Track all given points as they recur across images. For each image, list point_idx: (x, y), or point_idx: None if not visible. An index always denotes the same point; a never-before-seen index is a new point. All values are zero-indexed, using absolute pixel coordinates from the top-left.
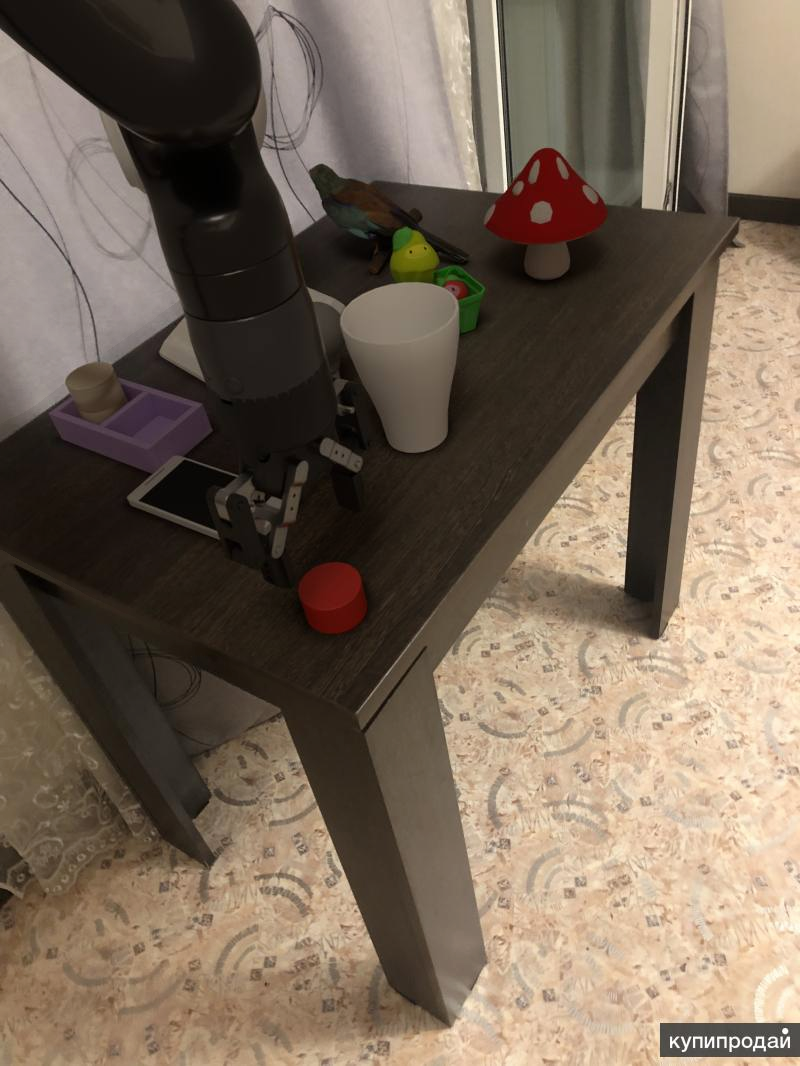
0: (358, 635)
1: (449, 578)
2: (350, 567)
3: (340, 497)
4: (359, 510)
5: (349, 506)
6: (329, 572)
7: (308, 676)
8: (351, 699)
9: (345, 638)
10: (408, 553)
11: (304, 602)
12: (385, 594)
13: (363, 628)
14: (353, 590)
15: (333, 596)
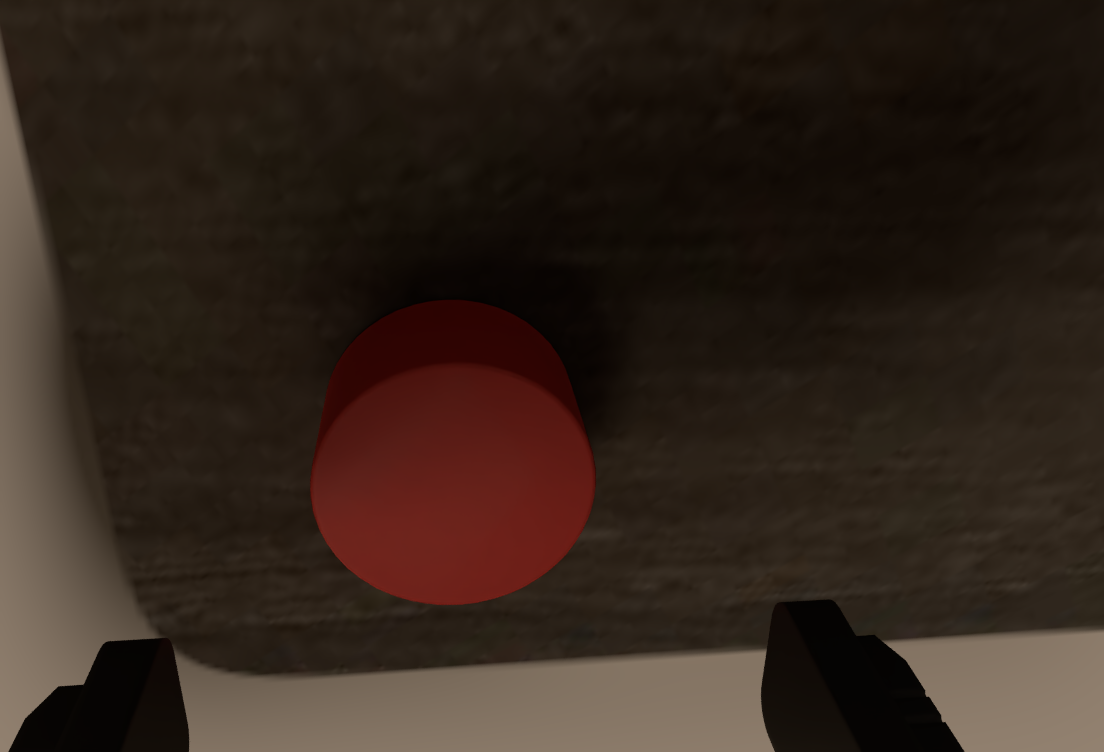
0: None
1: (745, 637)
2: (582, 507)
3: (800, 671)
4: (767, 721)
5: (774, 679)
6: (516, 452)
7: (145, 504)
8: None
9: None
10: (808, 473)
11: (316, 465)
12: (597, 513)
13: None
14: (478, 587)
15: (411, 540)
